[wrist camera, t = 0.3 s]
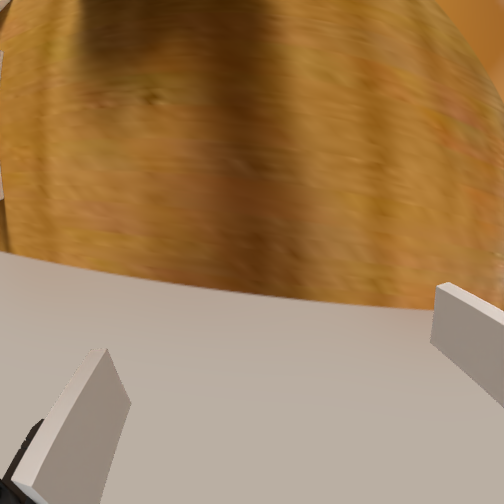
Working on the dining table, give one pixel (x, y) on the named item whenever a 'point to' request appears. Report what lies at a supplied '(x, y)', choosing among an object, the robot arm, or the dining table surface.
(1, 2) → the jar
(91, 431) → the robot arm
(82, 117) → the dining table surface
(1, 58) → the shelf
